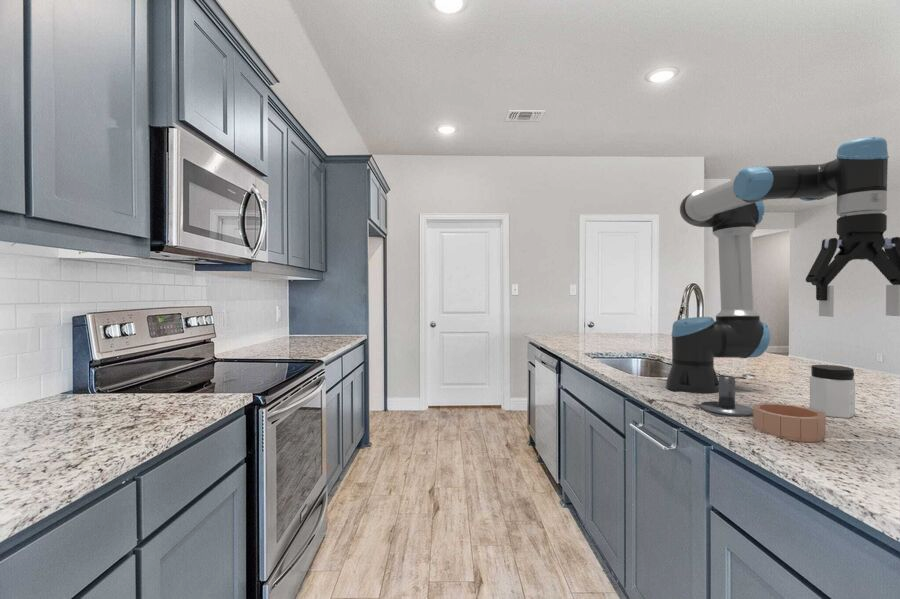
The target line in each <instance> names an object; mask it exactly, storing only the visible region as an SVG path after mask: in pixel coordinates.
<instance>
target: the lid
mask: <svg viewBox="0 0 900 599" xmlns="http://www.w3.org/2000/svg"><path fill="white" fill-rule="evenodd" d="M718 381H719V392H718V401H713V400H711V401H704V402H701V403H700V404H701V408H702V409H703V410H702V409H701V410H702V411H704V410H705V411H704V412H706V411H708V412H711V413H715V414H720V415H727V416H740V417H739V418H742V417H741V416H751V415H753V407H750V406H747V405H744V404H740V403H736V377H735V376H733V375H725V374H724V375H723V374H722V375H718ZM708 412H707V413H708Z"/></svg>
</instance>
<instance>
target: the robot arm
mask: <svg viewBox="0 0 900 599" xmlns="http://www.w3.org/2000/svg"><path fill="white" fill-rule="evenodd" d="M836 152H837V153H836V159H834V160H831V161H827V162H825V163H821V164H820V163H819V164H799V165H798V164H797V165H773V166H772V165H771V166H770V165H769V166H764V165H763V166H762V165H759V166H758V165H756V166H751V167H745V168H742V169H741V170H739V172H738V173H737V174H736V175H735V177H734V179H731V180H728V181H726V182H723V183H722V184H719V185H717V186H714V187H712V188H709V189H699V190H696V191H693V192H691V193H688V194H687V195H686V196H685V197H684V198H683V199H682V201H681V202H680V204H679V213H680V217H681V218H682V220H684V222H686V223H687V224H689V225H690V226H692V227H699V228H712V235H713V236H714V237H717V239H718V242H717V243H718V263H719V264H718V266H719V270H718V271H719V289H720V290H719V292H720V293H719V294H720V311H719V312H718V313H717V314H716V315H715V320H714V318H713V317H712V316H699V317H697V316H696V317H686V318H681V319H677V320H675V321H674V322H673V324H672V328H671V329H672V331H671V348H672V349H671V357H672V358H671V360H672V362H671V367H670V370H669V372H668V376H667V378H666V384H665V386H666V389H667V390H670V391H673V392H677V393H681V392H682V393H688V394H689V393H690V394H702V395H703V394H704V395H705V394H710V395H711V394H717V393H718V394H719V377H718V376H717V373H716V370H715V365H714V362H715V359H714V358H716V359H717V358H720V359H721V358H724V359H727V358H729V359H732V358H733V359H734V358H735V359H736V358H737V359H747V358H757V357H760V356H762V355H763V354H764V353H765V352H766V351H767V349H768V348H769V345H770V341H771V333H770V329H769V328H768V324H766V323H765V322H764V321H762V320H761V318H760V314H758V313H757V312H756V311H755V310H754V293H753V273H752V272H753V271H752V270H753V269H752V250H751V249H752V248H751V235H752V234H753V233H755V231H756V229H757V228H756V227H757V226H758V225H759V224H761V222H762V221H763V218H764V215H765V203H764V201H766V200H779V199H780V200H781V199H782V200H783V199H784V200H785V199H787V200H789V199H800V200H802V201H804V202H811V201H817V200H818V201H819V200H823V199H825V198H828V197H832V196H835V195H836V216H838V217H839V218H837V219H836V234H837V235H838V238H837V237H833V238H824V239H822V240H821V248H820V251H819V253H818V255H817V257H816V258H815V261H814V263H813V264H812V266H811V268H810V269H809V272H808V274H807V275H806V277H805V282H806V283H810V284H811V285H812V286H815V298H816V301H818V316H819V317H827V318H829V317H830V318H831V317H832V318H833V317H834V304H835V303H834V300H835V299H834V298H835V297H834V295H835V294H834V290H835V289H834V285H830V284H831V282H832V281H834V279H835V278H836V277H837V276H838V274H840V272H841V271H842V270H843V269H844V268H845V267H846V266H847V264H849V263H850V262H852V261H853V260H859V261H860V260H863V261H864V260H867V261H869V262H870V263H872V264H873V265H874V266H875V267H876V268H877V269H878V270H879V272H880V273H881V274H882V275H883V276H884V278H885V279H887V281H888V282H889V283H890V284H886V285H885V316H887V317H888V316H889V317H890V316H891V317H900V237H899V236H894V237H886V238H884V233H885V232H886V231H887V226H888V225H887V222H888V219H887V218H888V215H887V214H886V213H884V212H885V211H887V209H888V208H887V207H888V206H887V205H888V201H887V200H888V195H887V194H888V168H889V166H888V164H889V163H888V162H889V160H888V159H889V158H890V157H889V152H888V142H887V140H886V139H885V138H884V137H879V136H875V137H874V136H873V137H872V136H869V137H861V138H857V139H853V140H849V141H846V142H844V143H842V144H841V145H839V146H838V148H837V151H836ZM837 249H839V251H838V252H837ZM836 252H837V253H836ZM833 258H834V259H833ZM832 259H833V260H832Z"/></svg>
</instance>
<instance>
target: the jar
mask: <svg viewBox="0 0 900 599" xmlns="http://www.w3.org/2000/svg"><path fill="white" fill-rule="evenodd" d="M810 368H811V370H810V371H811V375H810V376H809V408H810V409H813V410H816V411H819V412H822V413H823V414H824V415H825V416H826V417H830V418H831V417H832V418H841V419H842V418H843V419H850V418H853V417H854V416H856V378H854V377H855V371H854V370H855V369H854V368H852V367H848V366H842V365H835V364H833V365H831V364H812V365H811V366H810Z"/></svg>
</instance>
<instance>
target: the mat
mask: <svg viewBox="0 0 900 599" xmlns="http://www.w3.org/2000/svg"><path fill="white" fill-rule="evenodd" d="M691 405H693V406H694V407H696V408H698V409H700V410H702V411H704V412H707V413H708V414H710V415H712V416H713V417H716V418H718V417H719V418H720V417H722V418H725V417H726V418H753V415H751V416H741V417H740V416H727V415H720V414H715V413H711V412H708V411H705V410H703V409H702V408H701V403H692V404H691Z"/></svg>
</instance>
